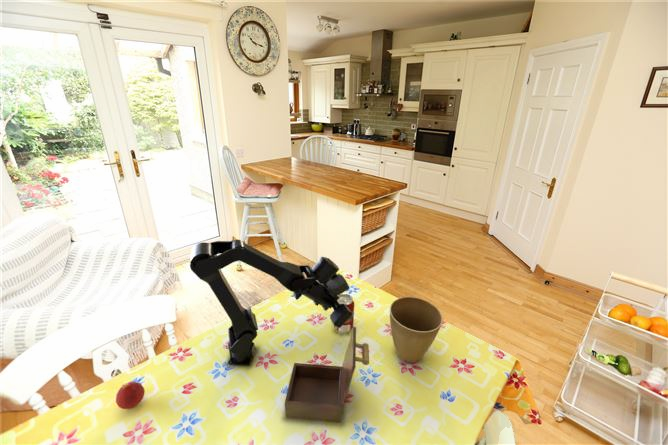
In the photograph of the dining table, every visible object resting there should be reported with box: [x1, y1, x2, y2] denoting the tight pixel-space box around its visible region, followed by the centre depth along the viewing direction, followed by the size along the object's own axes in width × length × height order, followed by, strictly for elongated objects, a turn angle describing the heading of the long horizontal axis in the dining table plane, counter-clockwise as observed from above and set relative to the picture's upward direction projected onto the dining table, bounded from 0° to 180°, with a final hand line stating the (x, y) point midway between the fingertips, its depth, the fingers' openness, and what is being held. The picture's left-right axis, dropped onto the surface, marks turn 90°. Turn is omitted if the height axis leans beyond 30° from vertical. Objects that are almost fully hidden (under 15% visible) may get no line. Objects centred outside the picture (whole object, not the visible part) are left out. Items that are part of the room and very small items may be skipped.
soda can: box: [333, 293, 355, 334], centre depth 97 cm, size 7×7×12 cm
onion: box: [115, 381, 146, 410], centre depth 72 cm, size 6×6×8 cm
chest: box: [284, 362, 342, 423], centre depth 75 cm, size 14×12×5 cm
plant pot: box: [389, 296, 444, 364], centre depth 87 cm, size 15×15×16 cm
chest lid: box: [340, 326, 370, 408], centre depth 71 cm, size 14×12×4 cm
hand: (347, 310), depth 98 cm, fingers closed on soda can, 7 cm apart
